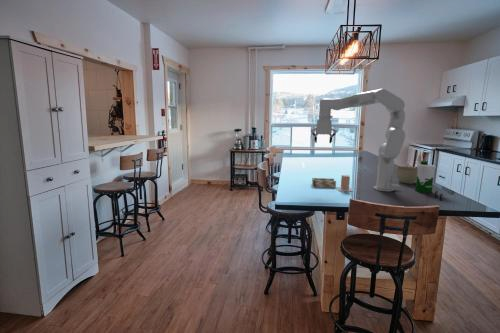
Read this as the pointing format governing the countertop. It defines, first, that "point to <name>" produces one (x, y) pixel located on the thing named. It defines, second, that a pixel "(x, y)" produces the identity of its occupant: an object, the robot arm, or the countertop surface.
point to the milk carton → (425, 177)
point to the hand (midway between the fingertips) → (323, 142)
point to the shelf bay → (323, 182)
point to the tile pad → (344, 190)
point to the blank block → (345, 182)
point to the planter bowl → (407, 174)
